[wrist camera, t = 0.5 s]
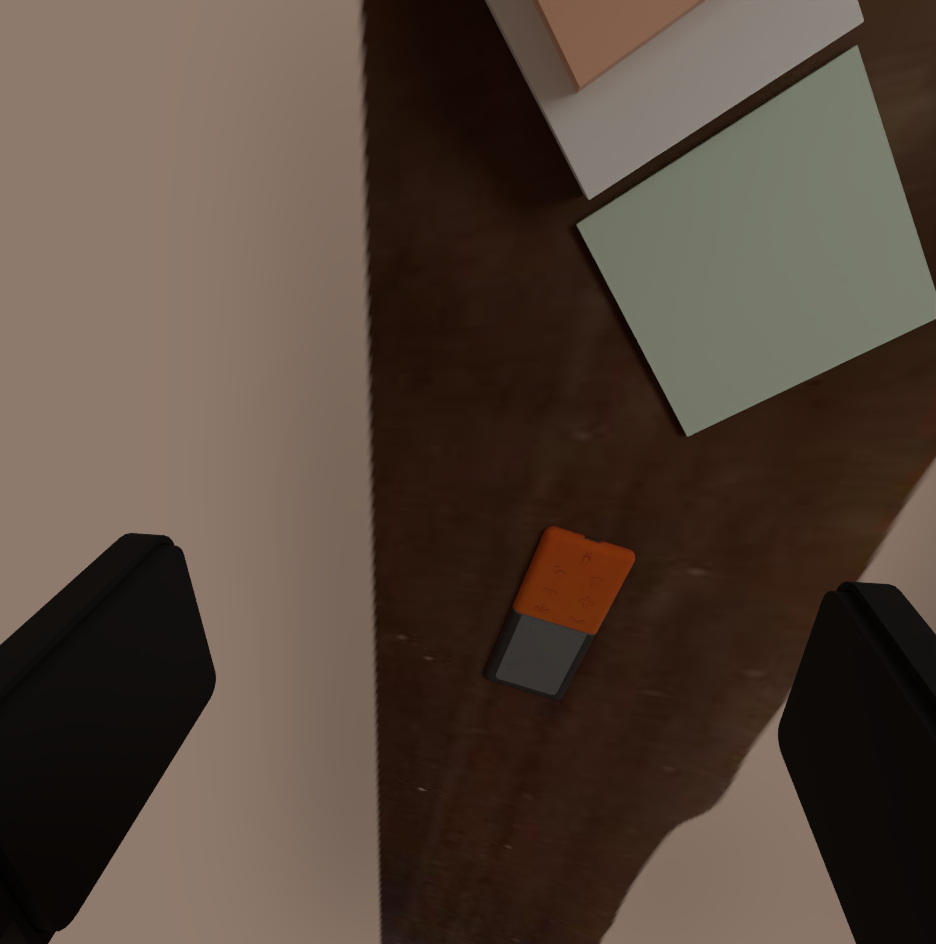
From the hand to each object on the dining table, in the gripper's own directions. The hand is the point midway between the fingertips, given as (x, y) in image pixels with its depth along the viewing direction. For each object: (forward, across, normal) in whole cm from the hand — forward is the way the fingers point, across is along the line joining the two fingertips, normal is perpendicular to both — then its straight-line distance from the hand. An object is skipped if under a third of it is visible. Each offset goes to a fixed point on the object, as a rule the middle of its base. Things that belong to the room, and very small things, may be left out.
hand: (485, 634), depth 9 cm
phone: (+29, -3, +24) cm, 37 cm away
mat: (+28, -12, -1) cm, 30 cm away
